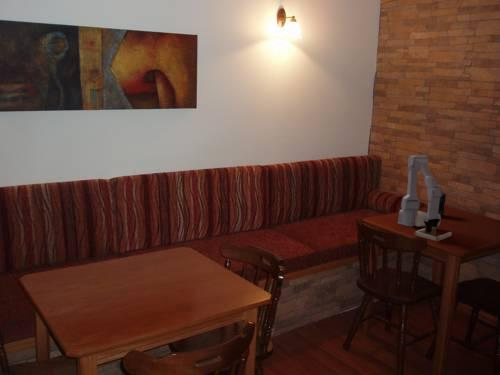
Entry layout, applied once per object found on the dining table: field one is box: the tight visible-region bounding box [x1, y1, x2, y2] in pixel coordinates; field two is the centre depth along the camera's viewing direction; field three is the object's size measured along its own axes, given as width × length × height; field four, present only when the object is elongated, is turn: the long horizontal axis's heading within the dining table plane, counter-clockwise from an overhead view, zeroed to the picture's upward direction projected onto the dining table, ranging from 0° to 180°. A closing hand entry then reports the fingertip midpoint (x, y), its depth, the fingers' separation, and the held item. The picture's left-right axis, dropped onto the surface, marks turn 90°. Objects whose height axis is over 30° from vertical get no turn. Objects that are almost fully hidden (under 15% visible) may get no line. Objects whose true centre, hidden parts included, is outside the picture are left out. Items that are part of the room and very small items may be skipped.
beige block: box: [424, 226, 438, 236], centre depth 292 cm, size 4×4×4 cm
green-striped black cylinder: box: [438, 192, 447, 218], centre depth 336 cm, size 10×10×15 cm
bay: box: [413, 227, 453, 242], centre depth 294 cm, size 14×16×2 cm
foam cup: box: [415, 210, 442, 228], centre depth 307 cm, size 10×9×13 cm
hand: (430, 231), depth 292 cm, fingers closed on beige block, 4 cm apart
